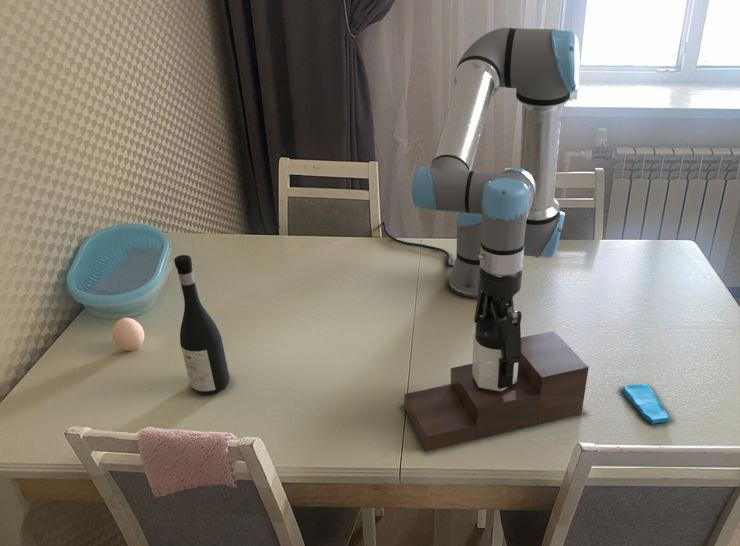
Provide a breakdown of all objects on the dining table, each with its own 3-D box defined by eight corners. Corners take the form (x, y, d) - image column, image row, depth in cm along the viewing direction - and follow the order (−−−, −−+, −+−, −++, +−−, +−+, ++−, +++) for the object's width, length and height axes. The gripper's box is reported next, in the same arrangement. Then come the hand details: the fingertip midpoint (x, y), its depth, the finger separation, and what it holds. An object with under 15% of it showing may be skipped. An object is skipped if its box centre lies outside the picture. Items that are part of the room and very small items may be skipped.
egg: (110, 353, 155) (101, 323, 151) (130, 338, 160) (122, 309, 156) (134, 358, 153) (125, 329, 149) (153, 343, 159) (145, 314, 154)
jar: (466, 386, 131) (468, 333, 125) (477, 363, 138) (479, 312, 131) (512, 394, 129) (516, 341, 122) (520, 371, 135) (525, 319, 129)
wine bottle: (209, 401, 140) (179, 270, 124) (183, 389, 144) (150, 260, 127) (238, 381, 146) (213, 254, 129) (212, 370, 149) (184, 245, 133)
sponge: (642, 421, 133) (671, 416, 133) (621, 385, 143) (648, 381, 143) (641, 427, 134) (670, 422, 134) (621, 391, 144) (648, 386, 144)
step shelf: (404, 407, 139) (402, 361, 132) (549, 375, 148) (554, 330, 142) (426, 451, 128) (426, 402, 121) (581, 413, 137) (588, 367, 130)
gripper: (458, 247, 128) (456, 347, 140) (507, 300, 111) (499, 409, 123) (495, 241, 130) (490, 340, 142) (548, 292, 113) (537, 400, 125)
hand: (494, 372), depth 133 cm, fingers closed on jar, 9 cm apart
